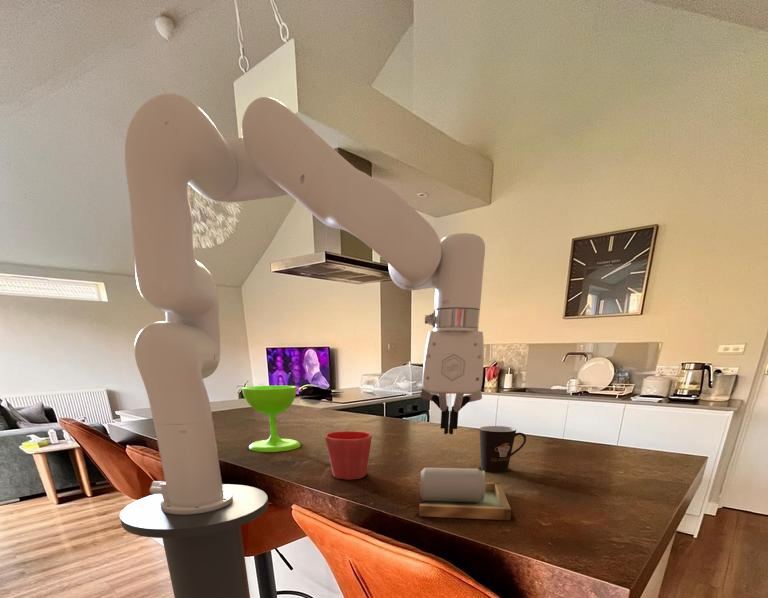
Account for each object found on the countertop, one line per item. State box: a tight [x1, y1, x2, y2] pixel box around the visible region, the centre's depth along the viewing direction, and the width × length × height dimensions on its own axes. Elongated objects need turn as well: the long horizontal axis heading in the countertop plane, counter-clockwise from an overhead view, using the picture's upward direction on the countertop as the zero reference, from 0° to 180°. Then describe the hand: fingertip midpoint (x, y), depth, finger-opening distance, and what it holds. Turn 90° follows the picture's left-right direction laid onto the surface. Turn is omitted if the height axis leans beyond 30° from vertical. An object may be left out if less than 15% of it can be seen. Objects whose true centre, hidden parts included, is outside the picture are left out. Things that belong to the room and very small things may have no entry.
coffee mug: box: [479, 425, 527, 473], centre depth 103 cm, size 12×9×10 cm
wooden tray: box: [418, 481, 512, 521], centre depth 80 cm, size 16×16×2 cm
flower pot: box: [324, 430, 372, 481], centre depth 98 cm, size 11×11×10 cm
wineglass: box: [241, 385, 302, 453], centre depth 130 cm, size 16×16×18 cm
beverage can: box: [419, 467, 486, 503], centre depth 80 cm, size 6×6×12 cm
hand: (448, 432), depth 76 cm, fingers closed
